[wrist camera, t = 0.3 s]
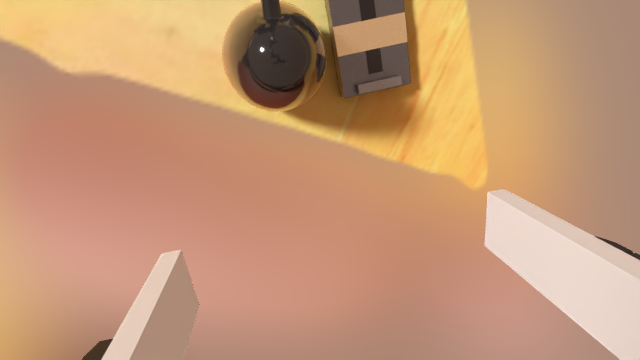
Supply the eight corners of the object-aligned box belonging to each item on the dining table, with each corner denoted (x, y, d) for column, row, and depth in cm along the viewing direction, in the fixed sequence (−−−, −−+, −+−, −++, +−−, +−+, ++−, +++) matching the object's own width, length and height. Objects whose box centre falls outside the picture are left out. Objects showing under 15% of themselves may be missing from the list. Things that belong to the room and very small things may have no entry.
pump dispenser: (314, 3, 35) (345, -40, 21) (323, 100, 39) (354, 120, 24) (218, 11, 34) (183, -29, 20) (237, 110, 37) (217, 137, 23)
